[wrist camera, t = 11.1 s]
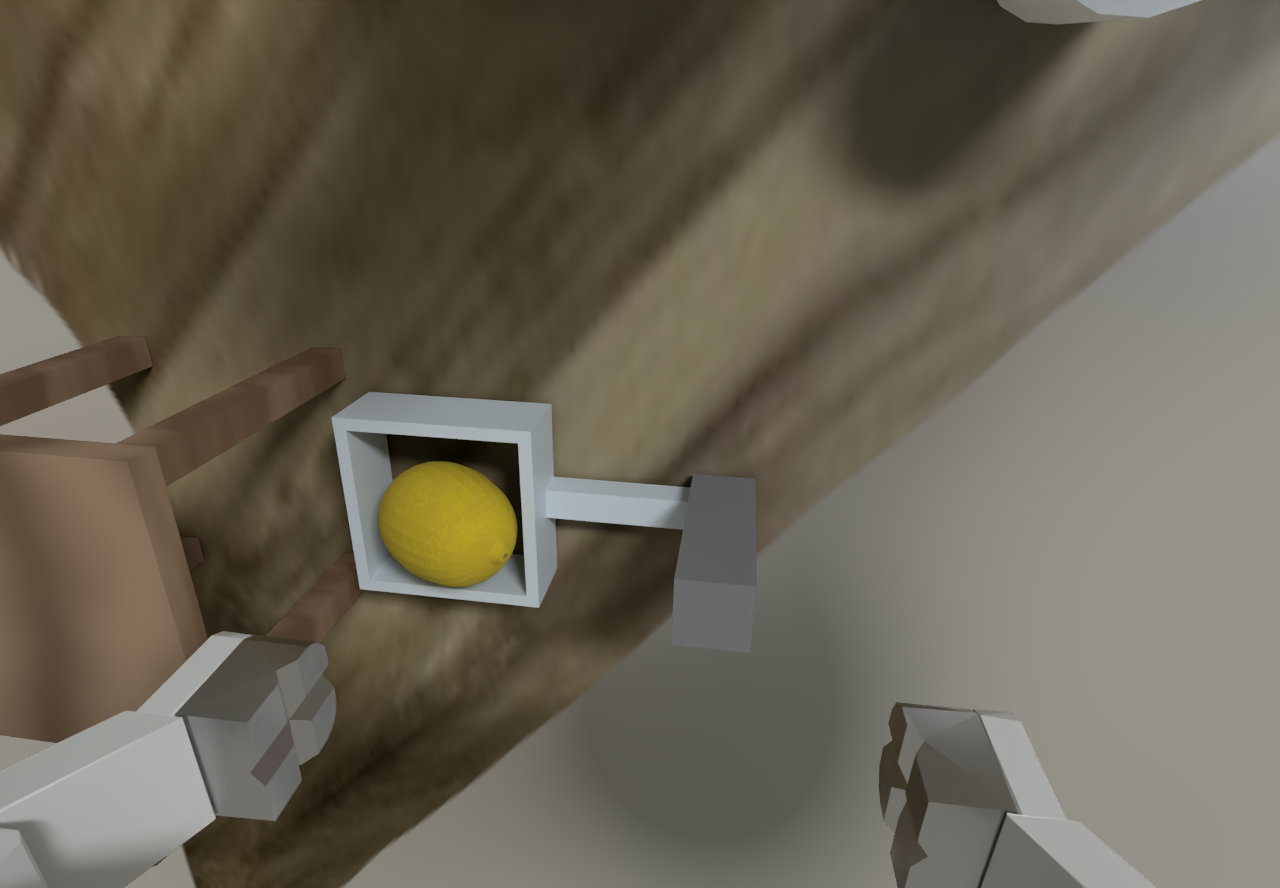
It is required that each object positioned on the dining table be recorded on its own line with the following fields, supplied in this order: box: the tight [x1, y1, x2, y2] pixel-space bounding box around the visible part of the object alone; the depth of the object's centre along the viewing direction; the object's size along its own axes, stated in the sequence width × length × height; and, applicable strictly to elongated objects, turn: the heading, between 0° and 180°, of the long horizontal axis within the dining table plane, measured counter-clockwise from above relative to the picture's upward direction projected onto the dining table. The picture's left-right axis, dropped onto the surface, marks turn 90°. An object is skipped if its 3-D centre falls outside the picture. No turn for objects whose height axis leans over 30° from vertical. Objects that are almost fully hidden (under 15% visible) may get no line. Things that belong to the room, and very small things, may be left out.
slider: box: [332, 392, 756, 653], centre depth 32 cm, size 19×9×9 cm, turn 89°
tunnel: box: [0, 336, 365, 743], centre depth 33 cm, size 12×13×13 cm
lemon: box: [378, 461, 517, 587], centre depth 34 cm, size 6×6×8 cm
